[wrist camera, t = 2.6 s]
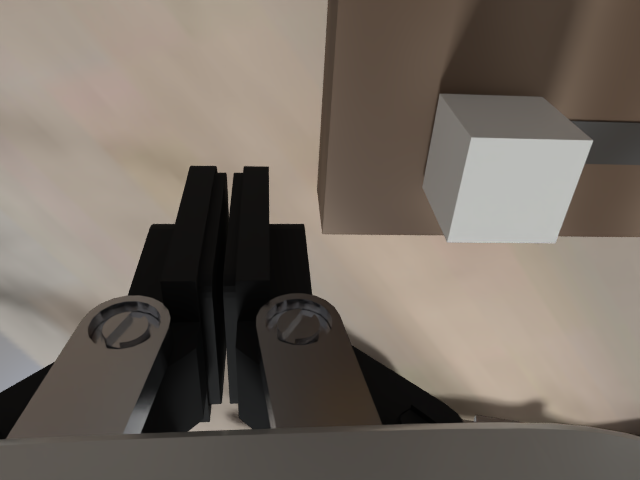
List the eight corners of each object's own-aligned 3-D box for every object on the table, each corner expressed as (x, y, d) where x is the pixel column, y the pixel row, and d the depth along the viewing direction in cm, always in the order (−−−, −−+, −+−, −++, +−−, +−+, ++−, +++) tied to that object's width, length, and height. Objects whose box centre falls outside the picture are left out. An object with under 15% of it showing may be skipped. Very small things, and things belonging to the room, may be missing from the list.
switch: (542, 97, 15) (593, 140, 13) (515, 188, 17) (555, 243, 14) (439, 93, 15) (471, 137, 12) (422, 187, 17) (447, 242, 14)
